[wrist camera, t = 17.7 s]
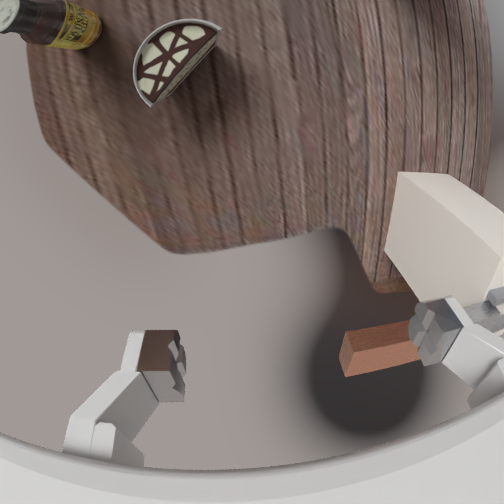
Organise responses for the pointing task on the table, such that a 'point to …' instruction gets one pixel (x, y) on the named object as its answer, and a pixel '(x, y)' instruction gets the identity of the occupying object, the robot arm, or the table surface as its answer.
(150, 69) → the half round cake
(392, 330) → the knife
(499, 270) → the stand
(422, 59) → the table surface
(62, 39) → the sauce bottle
